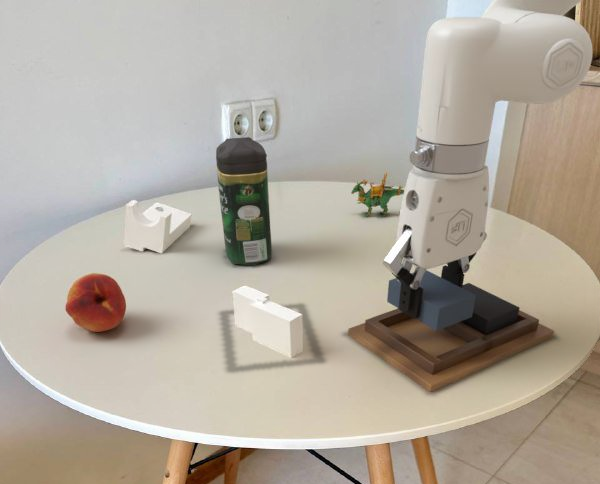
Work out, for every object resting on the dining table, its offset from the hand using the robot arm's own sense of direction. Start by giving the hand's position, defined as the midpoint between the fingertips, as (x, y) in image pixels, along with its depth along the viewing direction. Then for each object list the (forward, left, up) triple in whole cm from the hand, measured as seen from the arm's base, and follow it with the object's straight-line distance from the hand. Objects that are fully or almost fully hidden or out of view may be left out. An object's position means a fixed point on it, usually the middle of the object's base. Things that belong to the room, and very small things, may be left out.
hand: (429, 305), depth 74 cm
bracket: (+13, -55, -6) cm, 57 cm away
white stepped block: (+15, -14, -6) cm, 22 cm away
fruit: (+33, -29, -6) cm, 45 cm away
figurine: (-27, -41, -6) cm, 49 cm away
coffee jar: (+4, -39, -6) cm, 40 cm away
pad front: (0, 0, -1) cm, 1 cm away
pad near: (-9, 0, -5) cm, 10 cm away
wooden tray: (-5, 0, -6) cm, 8 cm away
